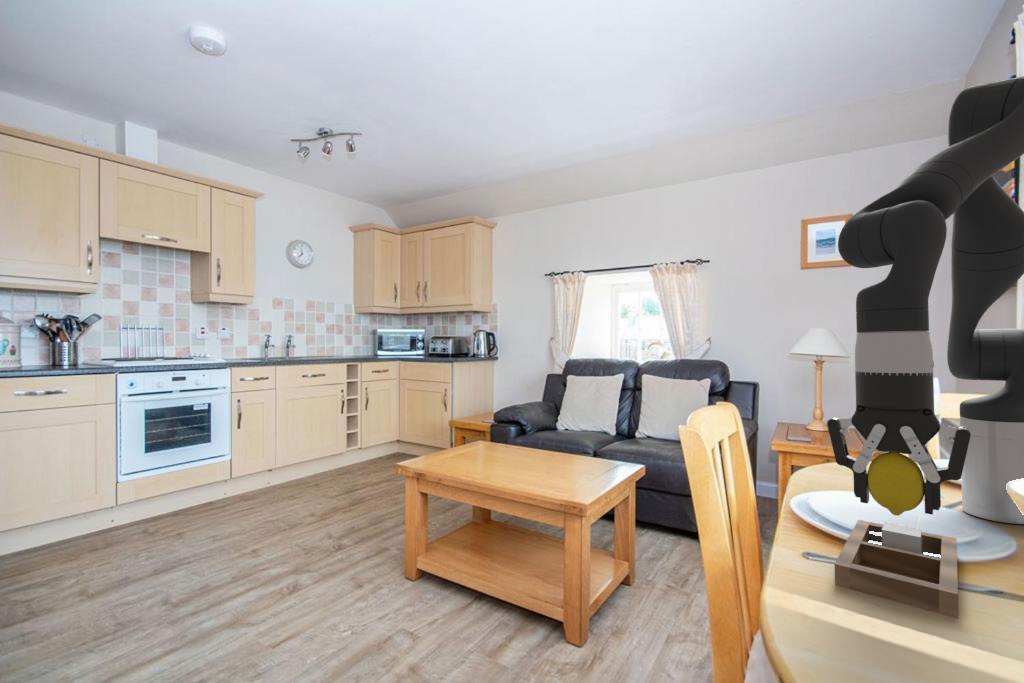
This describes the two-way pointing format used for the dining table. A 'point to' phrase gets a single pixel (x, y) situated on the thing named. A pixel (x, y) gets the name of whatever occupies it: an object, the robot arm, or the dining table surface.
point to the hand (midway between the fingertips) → (896, 506)
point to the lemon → (895, 482)
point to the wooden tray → (901, 570)
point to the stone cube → (902, 537)
